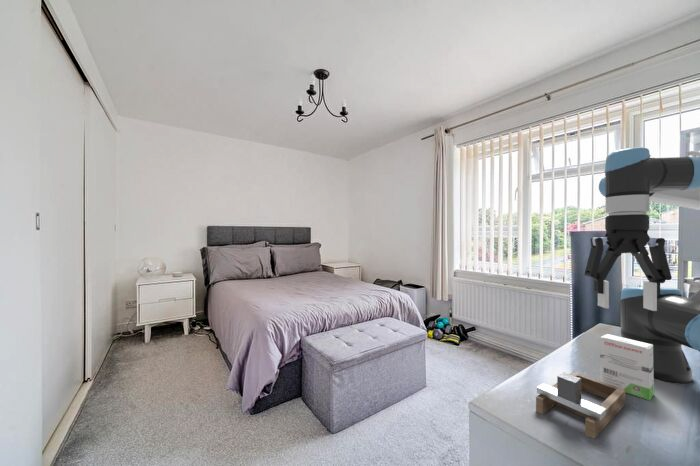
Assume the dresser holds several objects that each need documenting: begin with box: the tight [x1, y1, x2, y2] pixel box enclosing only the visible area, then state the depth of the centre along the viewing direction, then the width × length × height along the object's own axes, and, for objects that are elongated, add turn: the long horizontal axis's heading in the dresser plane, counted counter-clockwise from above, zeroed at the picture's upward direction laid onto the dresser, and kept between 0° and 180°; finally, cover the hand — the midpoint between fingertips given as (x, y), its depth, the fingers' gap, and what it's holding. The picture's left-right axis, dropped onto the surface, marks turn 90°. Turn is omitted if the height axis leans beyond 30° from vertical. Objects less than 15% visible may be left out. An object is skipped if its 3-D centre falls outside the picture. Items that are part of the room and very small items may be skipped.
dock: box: [535, 371, 627, 439], centre depth 59 cm, size 20×9×3 cm, turn 123°
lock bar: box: [536, 372, 606, 421], centre depth 56 cm, size 3×10×5 cm, turn 33°
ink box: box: [599, 333, 655, 401], centre depth 66 cm, size 9×5×12 cm, turn 33°
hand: (626, 308), depth 66 cm, fingers open, 9 cm apart
